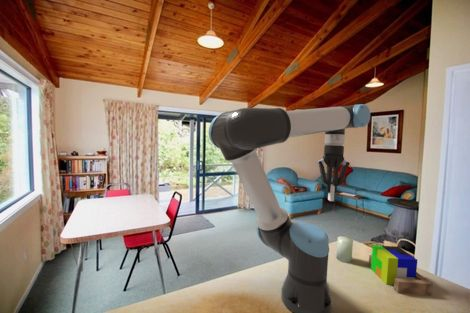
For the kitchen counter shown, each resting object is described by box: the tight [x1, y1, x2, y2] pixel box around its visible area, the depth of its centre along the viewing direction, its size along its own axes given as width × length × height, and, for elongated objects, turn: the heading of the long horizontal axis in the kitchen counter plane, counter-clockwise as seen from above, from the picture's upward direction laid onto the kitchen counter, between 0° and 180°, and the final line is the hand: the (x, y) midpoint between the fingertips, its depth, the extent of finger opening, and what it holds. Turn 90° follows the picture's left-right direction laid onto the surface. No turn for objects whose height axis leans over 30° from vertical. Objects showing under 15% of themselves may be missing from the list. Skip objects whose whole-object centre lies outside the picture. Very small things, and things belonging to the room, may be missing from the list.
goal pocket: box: [368, 254, 433, 296], centre depth 83 cm, size 11×18×4 cm, turn 177°
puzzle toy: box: [370, 244, 418, 286], centre depth 84 cm, size 10×10×10 cm
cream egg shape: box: [336, 235, 354, 264], centre depth 96 cm, size 6×6×9 cm
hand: (330, 200), depth 93 cm, fingers closed
